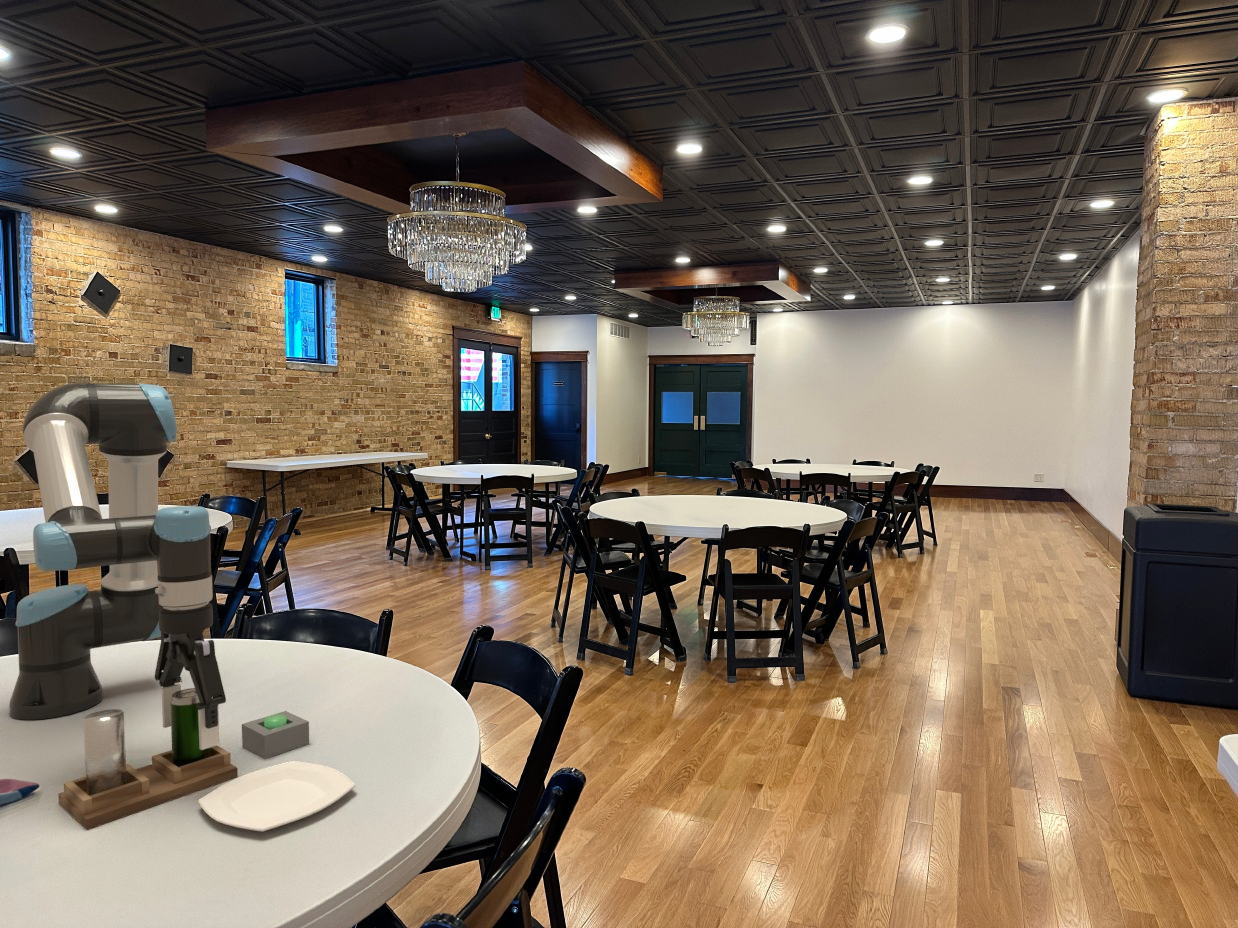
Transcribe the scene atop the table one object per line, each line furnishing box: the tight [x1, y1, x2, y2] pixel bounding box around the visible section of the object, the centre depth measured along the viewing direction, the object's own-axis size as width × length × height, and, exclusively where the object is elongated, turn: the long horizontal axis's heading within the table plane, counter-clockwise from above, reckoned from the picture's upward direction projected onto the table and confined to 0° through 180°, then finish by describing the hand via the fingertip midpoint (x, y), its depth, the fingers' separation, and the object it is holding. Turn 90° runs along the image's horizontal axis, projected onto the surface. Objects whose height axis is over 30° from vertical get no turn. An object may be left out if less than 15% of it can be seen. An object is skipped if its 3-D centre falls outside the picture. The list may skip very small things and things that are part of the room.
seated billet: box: [82, 708, 127, 796], centre depth 118 cm, size 5×5×12 cm
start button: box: [264, 713, 287, 730], centre depth 139 cm, size 4×4×3 cm
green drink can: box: [170, 687, 210, 767], centre depth 128 cm, size 5×5×12 cm
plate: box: [197, 760, 357, 832], centre depth 119 cm, size 19×19×2 cm
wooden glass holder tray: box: [57, 745, 239, 831], centre depth 123 cm, size 12×21×4 cm, turn 141°
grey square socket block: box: [241, 710, 310, 760], centre depth 140 cm, size 8×8×4 cm
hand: (190, 735), depth 127 cm, fingers open, 13 cm apart
